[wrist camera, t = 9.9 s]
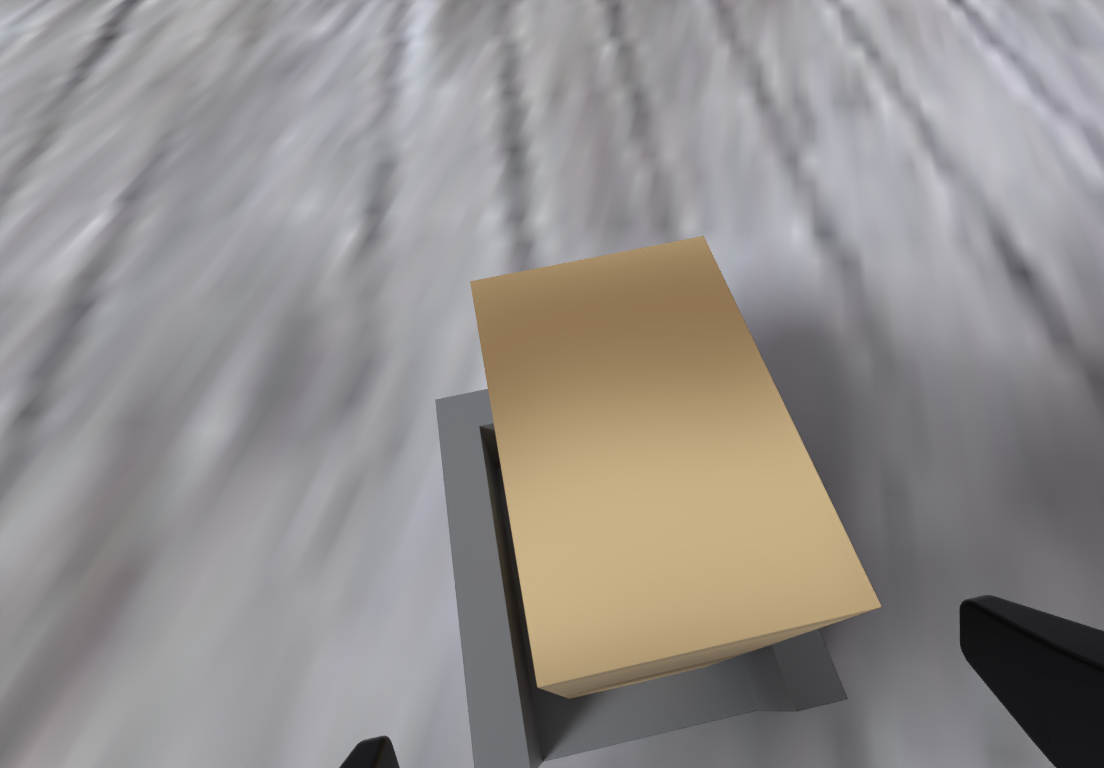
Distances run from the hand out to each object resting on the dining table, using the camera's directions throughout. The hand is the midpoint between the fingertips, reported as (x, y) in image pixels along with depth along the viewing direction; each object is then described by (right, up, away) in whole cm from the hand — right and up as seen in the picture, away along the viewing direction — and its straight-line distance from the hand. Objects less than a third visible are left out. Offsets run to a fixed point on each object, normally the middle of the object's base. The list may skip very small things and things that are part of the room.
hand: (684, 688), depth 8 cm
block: (0, -1, +9) cm, 9 cm away
